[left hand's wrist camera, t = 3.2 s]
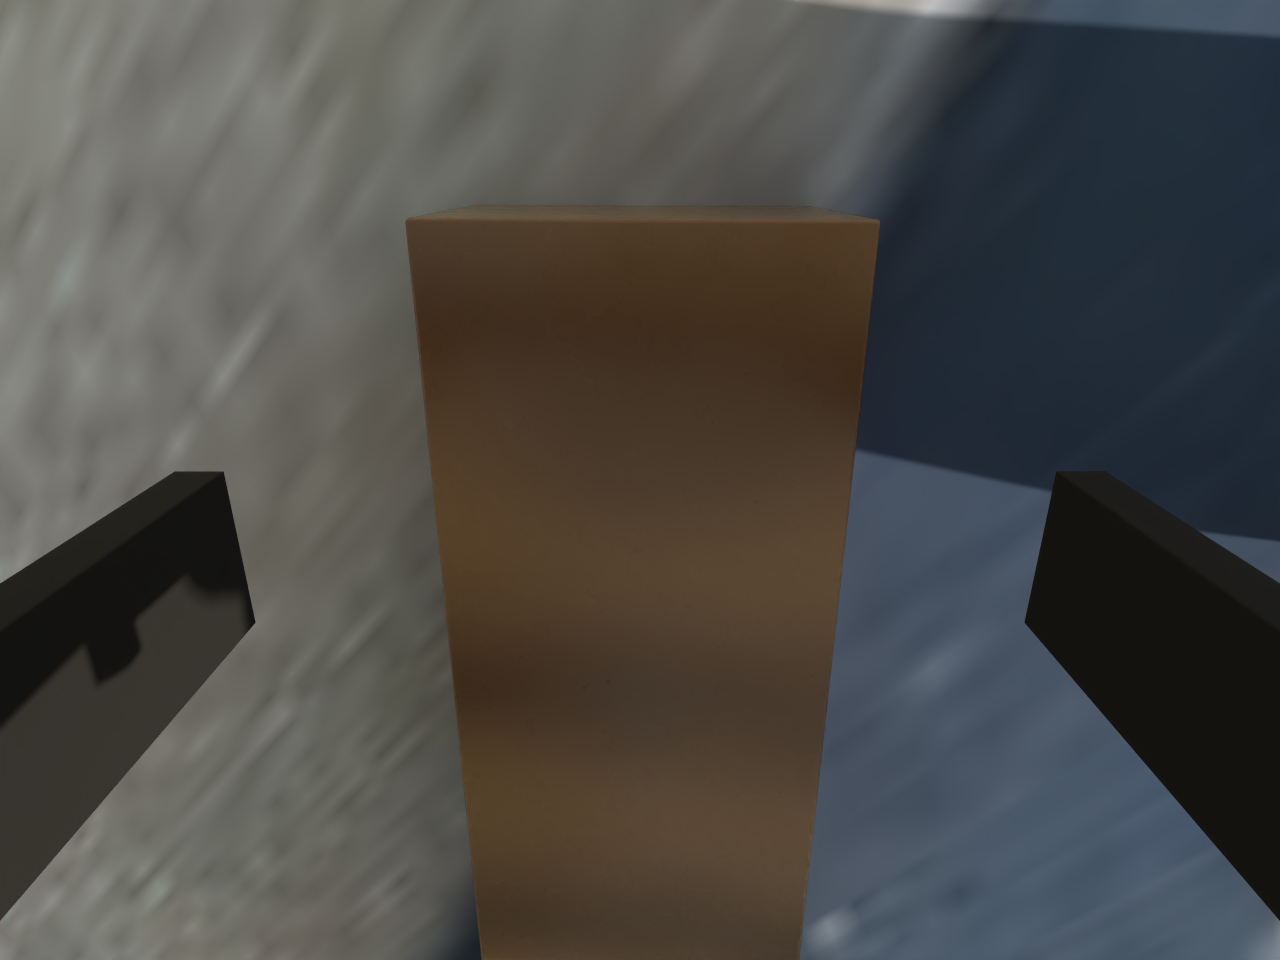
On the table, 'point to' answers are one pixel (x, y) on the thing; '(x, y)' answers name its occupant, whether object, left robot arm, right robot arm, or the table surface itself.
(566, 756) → the long beam
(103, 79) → the table surface
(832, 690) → the table surface
